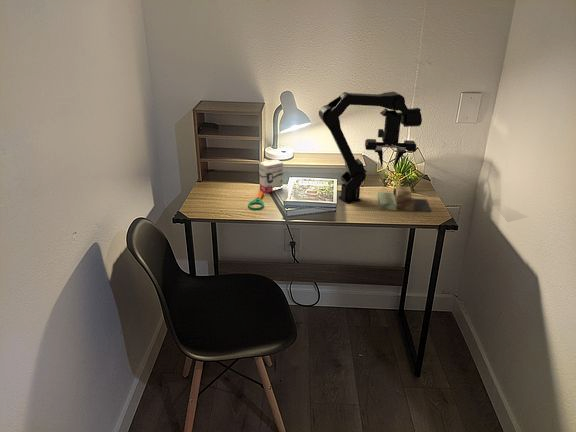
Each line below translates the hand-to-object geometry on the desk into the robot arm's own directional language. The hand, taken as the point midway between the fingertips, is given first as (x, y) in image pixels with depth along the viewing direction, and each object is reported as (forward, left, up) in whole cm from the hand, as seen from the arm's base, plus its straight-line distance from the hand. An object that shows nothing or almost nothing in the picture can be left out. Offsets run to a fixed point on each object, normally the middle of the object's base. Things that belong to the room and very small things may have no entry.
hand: (388, 166), depth 191 cm
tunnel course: (+2, -8, -13) cm, 16 cm away
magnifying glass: (-48, +16, -14) cm, 52 cm away
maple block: (+2, -8, -10) cm, 14 cm away
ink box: (-38, +26, -13) cm, 48 cm away
